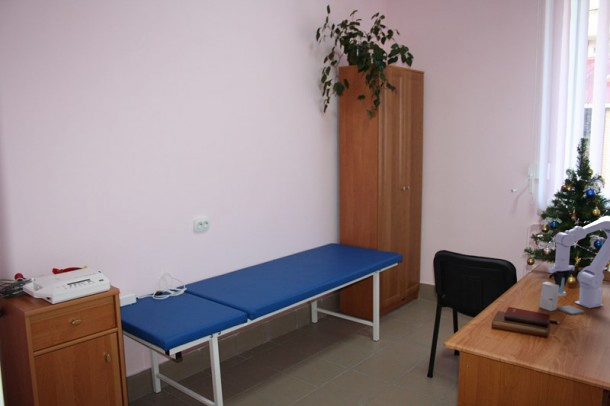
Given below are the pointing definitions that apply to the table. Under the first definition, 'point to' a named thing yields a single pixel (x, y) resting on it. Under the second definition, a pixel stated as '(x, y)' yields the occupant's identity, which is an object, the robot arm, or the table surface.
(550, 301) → the skincare box
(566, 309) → the rubber mat
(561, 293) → the pusher tool
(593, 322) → the table surface
